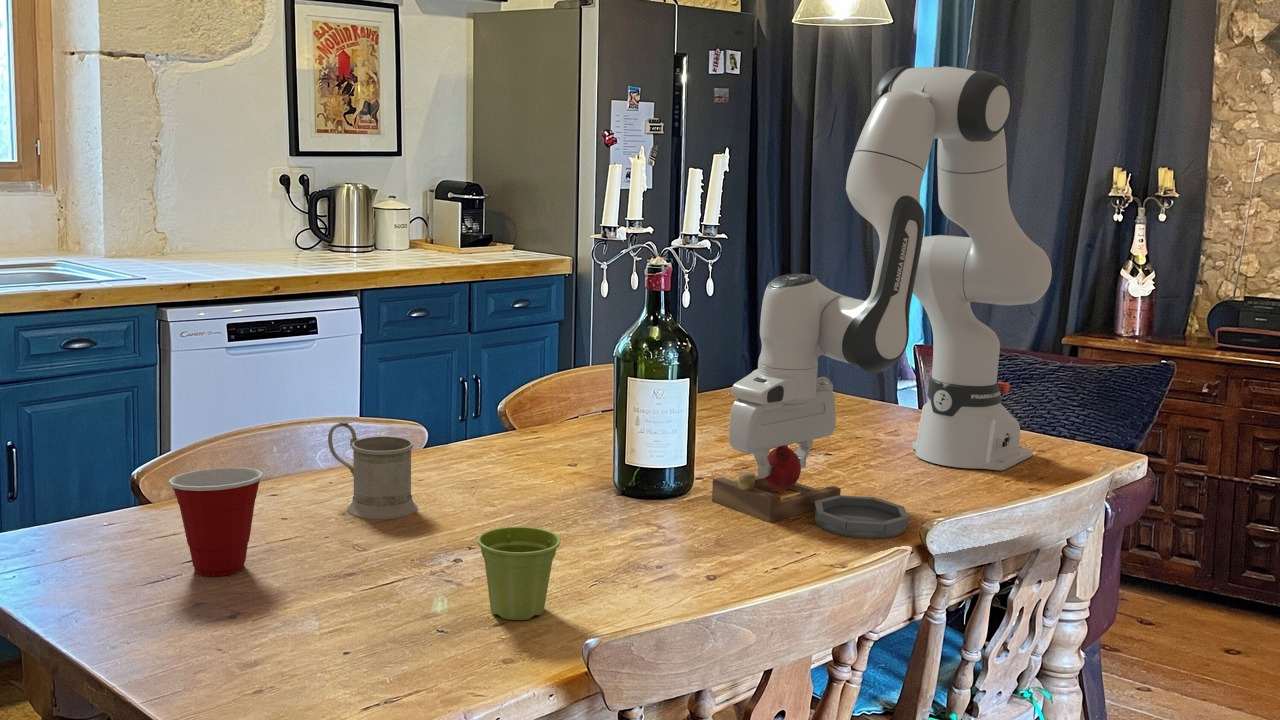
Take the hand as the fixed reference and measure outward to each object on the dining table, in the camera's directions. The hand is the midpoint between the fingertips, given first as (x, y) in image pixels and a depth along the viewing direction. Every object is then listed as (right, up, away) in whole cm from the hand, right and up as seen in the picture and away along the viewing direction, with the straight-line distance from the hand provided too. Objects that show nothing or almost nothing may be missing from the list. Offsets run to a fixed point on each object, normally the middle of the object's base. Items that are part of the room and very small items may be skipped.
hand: (781, 471), depth 185 cm
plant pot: (-36, -12, -45) cm, 59 cm away
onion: (0, -3, +1) cm, 3 cm away
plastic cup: (-73, -9, -36) cm, 82 cm away
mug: (-61, -4, -10) cm, 61 cm away
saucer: (+10, -7, -9) cm, 15 cm away
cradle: (0, -5, 0) cm, 5 cm away
